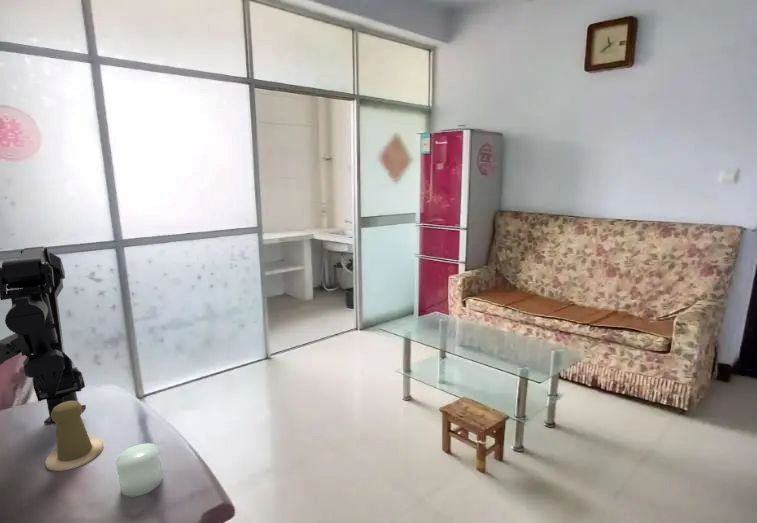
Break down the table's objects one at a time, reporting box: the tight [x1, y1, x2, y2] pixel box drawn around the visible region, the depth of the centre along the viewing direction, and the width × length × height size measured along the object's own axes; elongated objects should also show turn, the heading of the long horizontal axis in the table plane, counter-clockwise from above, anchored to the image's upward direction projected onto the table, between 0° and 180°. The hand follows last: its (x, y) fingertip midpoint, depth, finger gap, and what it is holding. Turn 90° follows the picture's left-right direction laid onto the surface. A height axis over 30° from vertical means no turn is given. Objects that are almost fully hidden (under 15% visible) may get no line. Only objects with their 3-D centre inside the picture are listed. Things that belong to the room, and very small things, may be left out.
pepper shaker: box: [51, 400, 92, 462], centre depth 90 cm, size 6×6×11 cm
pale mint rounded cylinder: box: [115, 442, 164, 498], centre depth 81 cm, size 7×7×6 cm
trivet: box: [45, 437, 104, 472], centre depth 91 cm, size 10×10×1 cm
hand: (50, 388), depth 92 cm, fingers open, 9 cm apart
